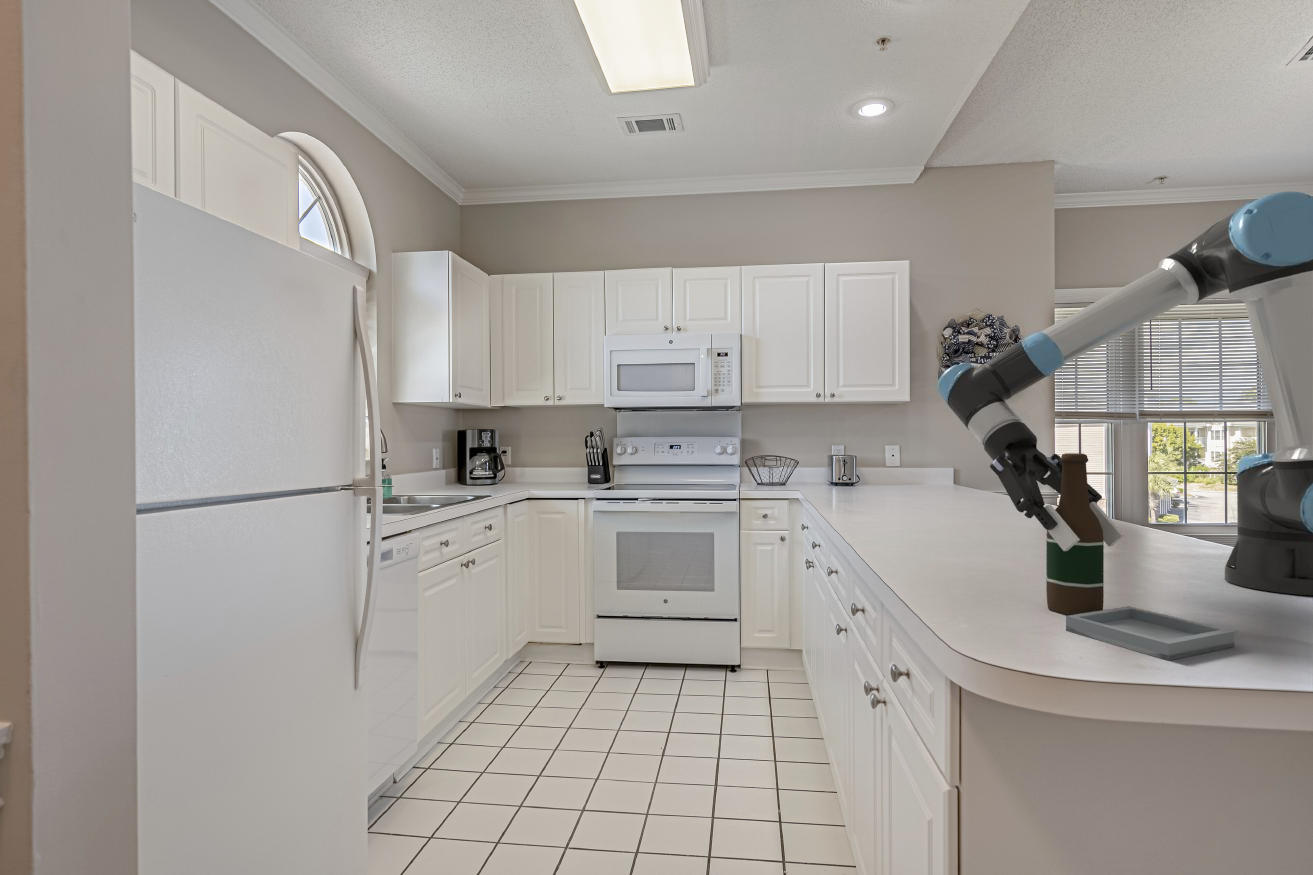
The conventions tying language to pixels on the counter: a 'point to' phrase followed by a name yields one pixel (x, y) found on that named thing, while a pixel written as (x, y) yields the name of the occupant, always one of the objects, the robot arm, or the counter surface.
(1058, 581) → the beer bottle
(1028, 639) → the counter surface
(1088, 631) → the keeper tray
